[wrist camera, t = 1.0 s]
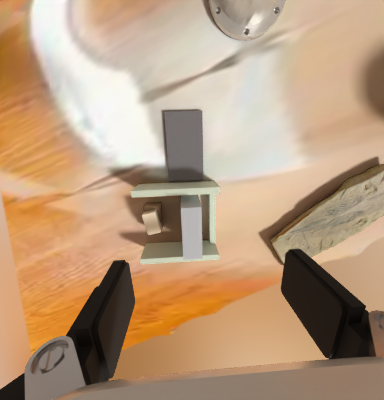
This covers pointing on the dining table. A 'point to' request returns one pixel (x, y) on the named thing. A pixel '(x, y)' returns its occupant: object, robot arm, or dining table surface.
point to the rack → (174, 250)
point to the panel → (184, 145)
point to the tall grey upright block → (191, 226)
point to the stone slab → (335, 216)
